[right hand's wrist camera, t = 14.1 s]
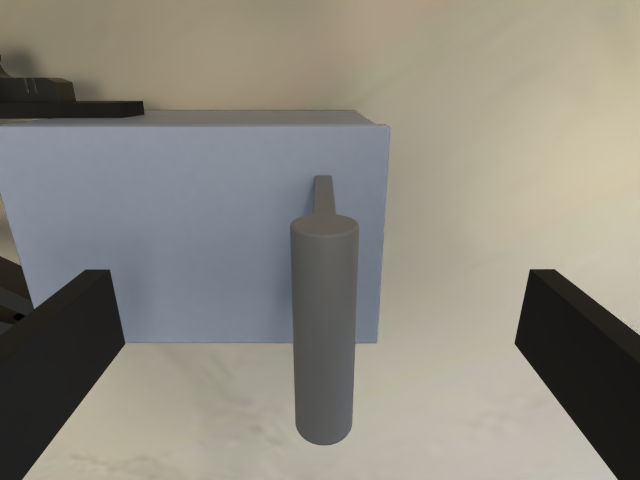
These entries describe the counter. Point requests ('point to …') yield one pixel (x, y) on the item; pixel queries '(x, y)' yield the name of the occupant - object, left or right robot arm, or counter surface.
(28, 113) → the left robot arm
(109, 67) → the counter surface
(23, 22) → the counter surface
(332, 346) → the lid
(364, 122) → the chest
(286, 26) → the counter surface
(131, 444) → the counter surface
